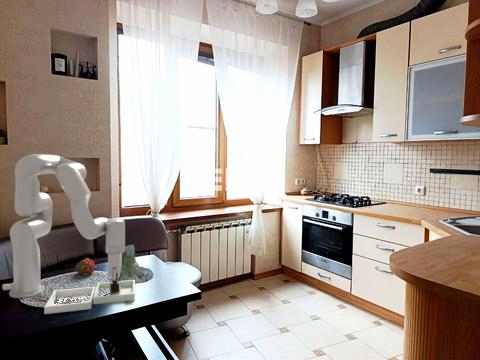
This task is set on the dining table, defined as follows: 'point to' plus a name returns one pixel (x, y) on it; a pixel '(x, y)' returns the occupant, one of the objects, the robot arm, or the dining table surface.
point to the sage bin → (125, 294)
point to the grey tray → (55, 308)
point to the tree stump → (133, 267)
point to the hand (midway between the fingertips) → (115, 289)
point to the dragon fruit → (85, 266)
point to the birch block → (115, 293)
